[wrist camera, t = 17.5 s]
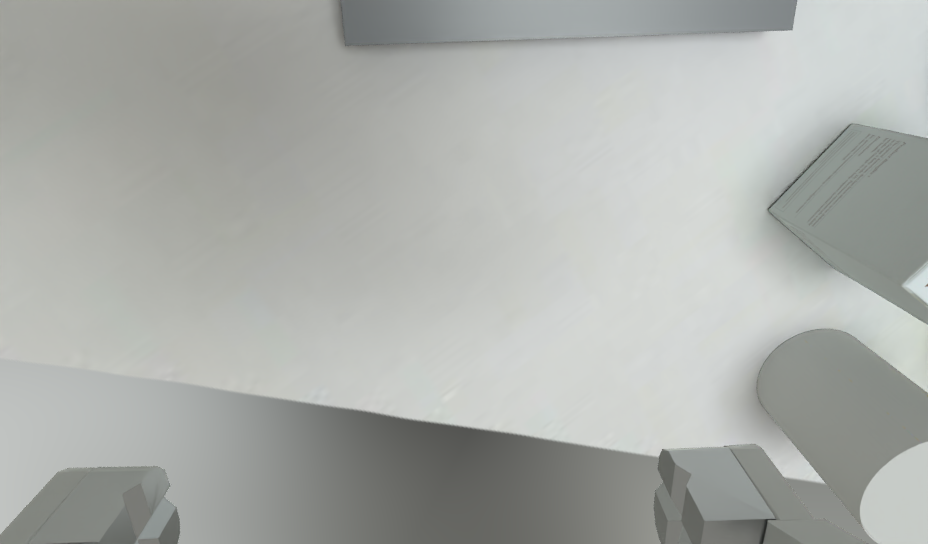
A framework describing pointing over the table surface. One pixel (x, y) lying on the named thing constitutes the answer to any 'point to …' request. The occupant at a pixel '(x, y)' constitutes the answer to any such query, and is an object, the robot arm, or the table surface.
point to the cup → (854, 428)
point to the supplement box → (868, 213)
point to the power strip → (553, 19)
